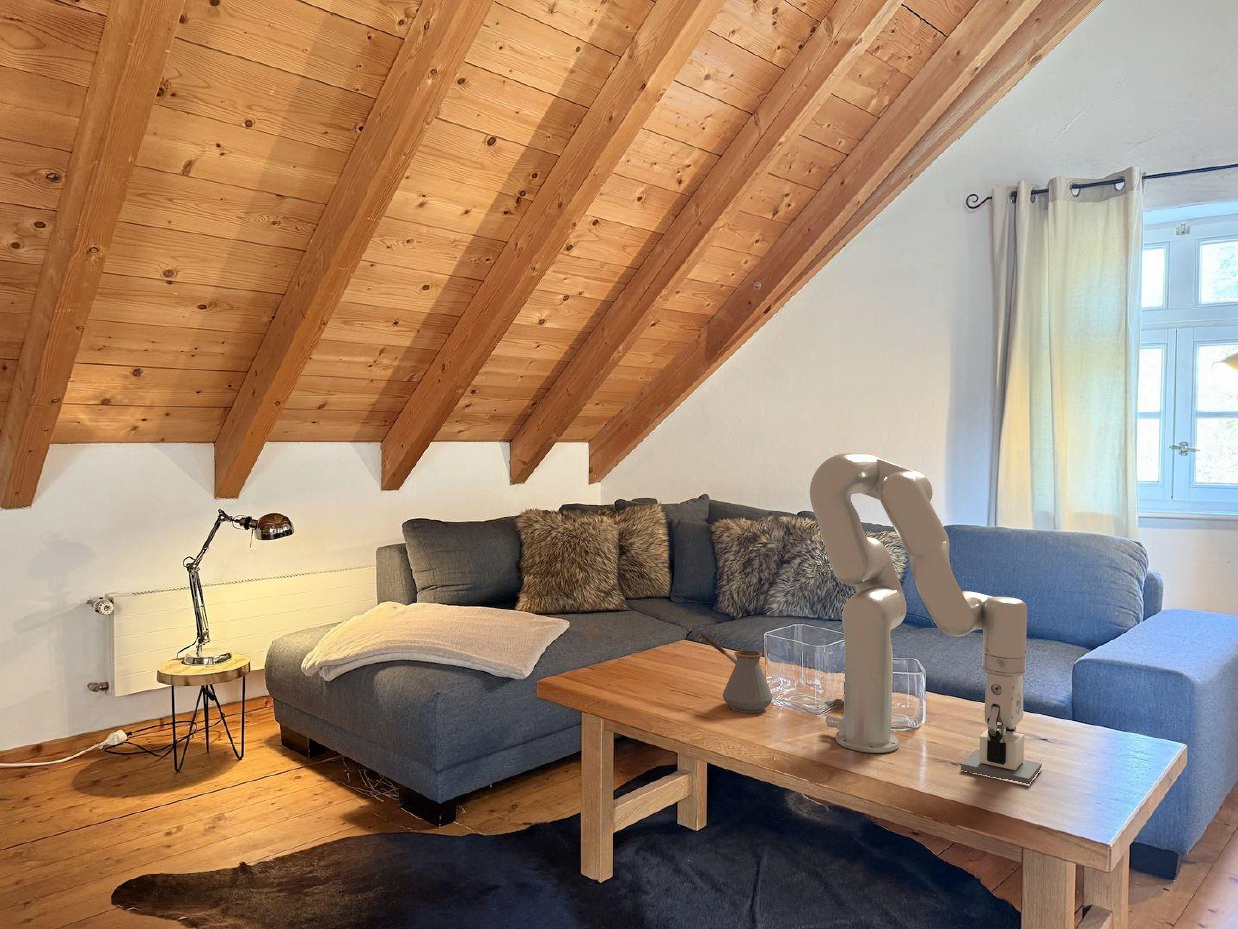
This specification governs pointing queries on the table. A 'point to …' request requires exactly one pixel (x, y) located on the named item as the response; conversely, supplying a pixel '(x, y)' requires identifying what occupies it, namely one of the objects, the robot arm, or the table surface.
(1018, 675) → the robot arm
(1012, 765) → the cream coin box
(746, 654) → the coffee pot
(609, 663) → the table surface
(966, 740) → the table surface
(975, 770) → the plate
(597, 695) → the table surface
